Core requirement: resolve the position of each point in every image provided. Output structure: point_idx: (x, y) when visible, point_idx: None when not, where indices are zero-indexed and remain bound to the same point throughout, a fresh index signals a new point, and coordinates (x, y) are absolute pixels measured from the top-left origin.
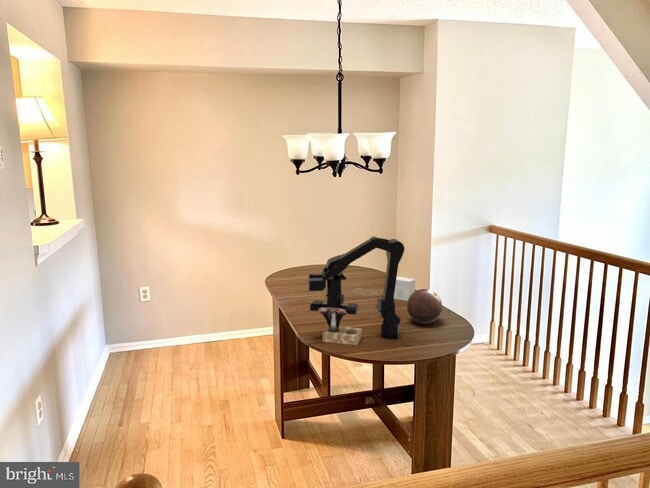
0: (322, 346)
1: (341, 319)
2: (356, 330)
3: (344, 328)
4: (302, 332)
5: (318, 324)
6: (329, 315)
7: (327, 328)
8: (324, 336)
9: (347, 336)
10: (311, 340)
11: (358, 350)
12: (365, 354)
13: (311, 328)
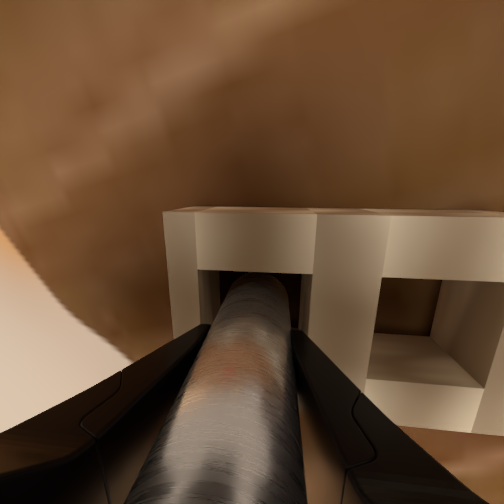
0: None
1: (366, 409)
2: (497, 281)
3: (352, 260)
4: (19, 234)
5: (36, 5)
6: (113, 494)
7: (181, 297)
8: None
9: (399, 418)
10: (132, 348)
11: (454, 438)
12: (500, 480)
13: (33, 134)
